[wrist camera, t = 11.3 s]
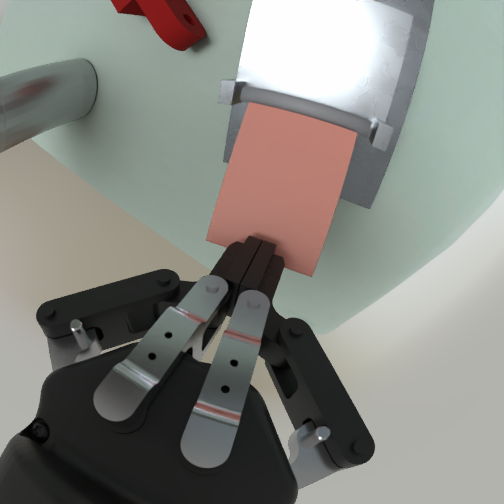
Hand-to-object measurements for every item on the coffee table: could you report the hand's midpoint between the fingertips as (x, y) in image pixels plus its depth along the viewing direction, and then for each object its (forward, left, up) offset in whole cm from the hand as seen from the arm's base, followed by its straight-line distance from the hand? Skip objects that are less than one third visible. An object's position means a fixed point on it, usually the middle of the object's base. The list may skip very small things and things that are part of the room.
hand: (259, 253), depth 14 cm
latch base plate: (0, +11, -15) cm, 19 cm away
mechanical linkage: (-18, +17, -16) cm, 29 cm away
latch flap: (0, +3, -3) cm, 4 cm away
